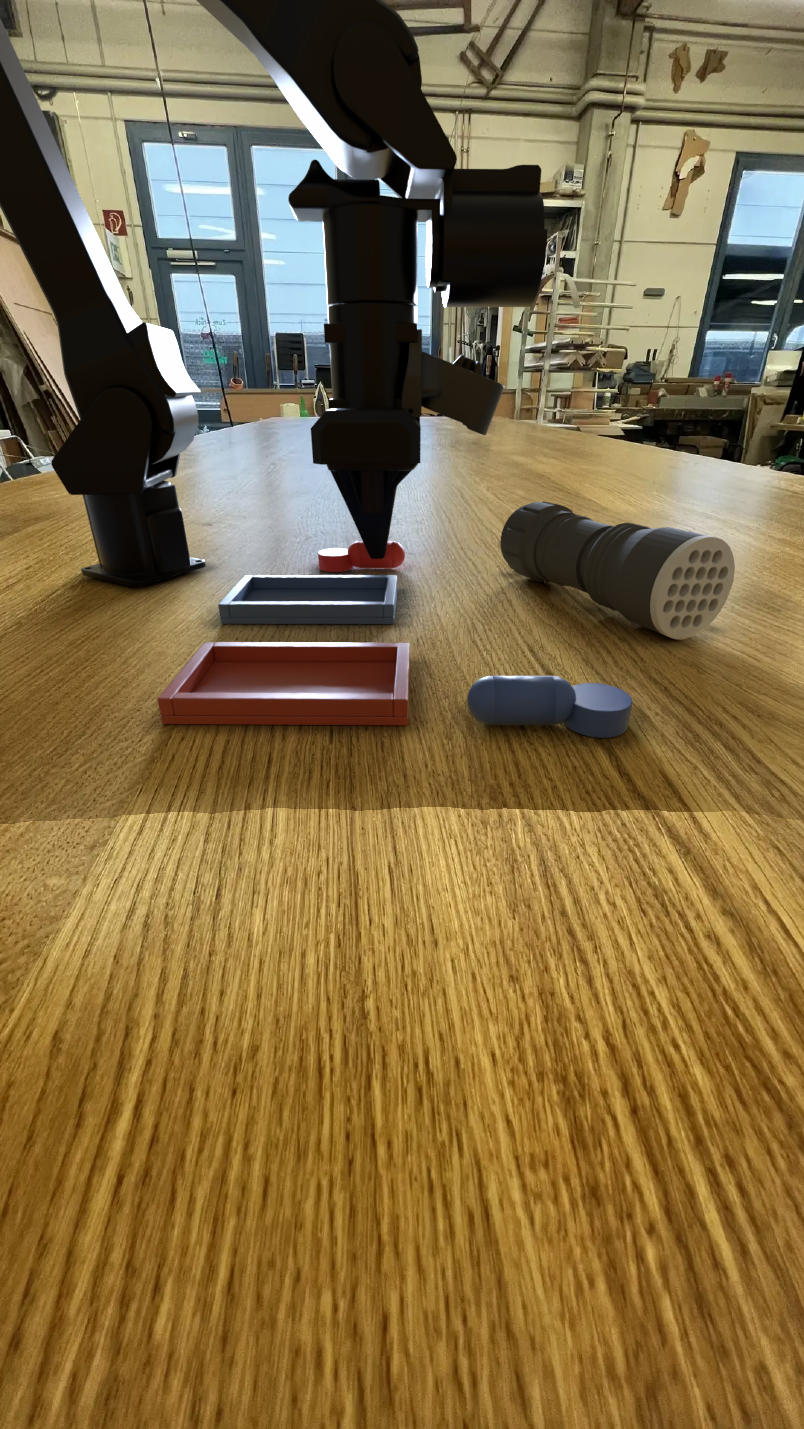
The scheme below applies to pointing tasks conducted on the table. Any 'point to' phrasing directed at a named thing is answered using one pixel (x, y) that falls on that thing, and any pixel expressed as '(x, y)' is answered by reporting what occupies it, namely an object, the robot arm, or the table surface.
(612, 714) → the blue capsule with disc
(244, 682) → the red tray
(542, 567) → the flashlight
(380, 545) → the robot arm
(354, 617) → the blue tray
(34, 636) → the table surface
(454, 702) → the table surface
